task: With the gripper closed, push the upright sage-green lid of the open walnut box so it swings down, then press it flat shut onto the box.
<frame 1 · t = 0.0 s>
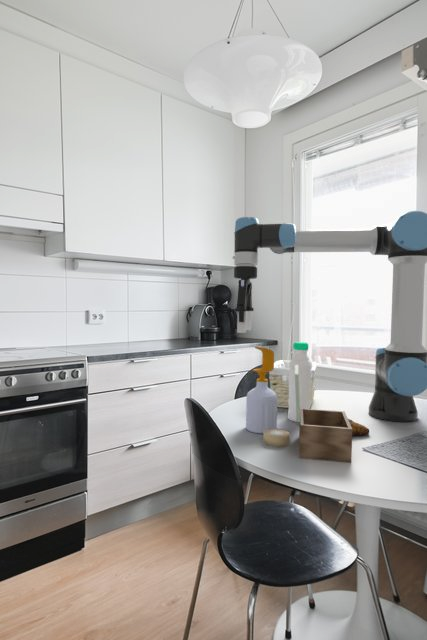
hand: (244, 331, 132), 28 cm above the table, tool pointing down, fingers open, 13 cm apart
croissant: (344, 435, 116), on the table
lid: (297, 393, 105), point 14 cm above the table, hinge at 93.6°, touching box
box: (322, 448, 104), on the table
storage basket: (293, 402, 153), on the table
soap bottle: (261, 429, 119), on the table
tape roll: (276, 442, 108), on the table
water bottle: (298, 420, 130), on the table
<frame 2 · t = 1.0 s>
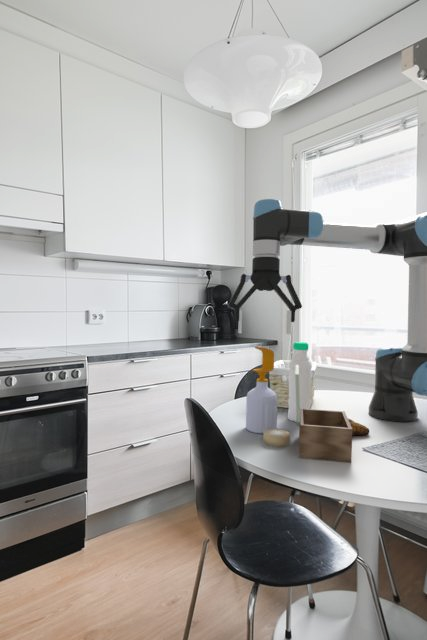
hand: (264, 333, 113), 29 cm above the table, tool pointing down, fingers open, 13 cm apart
lid: (297, 393, 105), point 14 cm above the table, hinge at 93.1°, touching box
everything else where it was.
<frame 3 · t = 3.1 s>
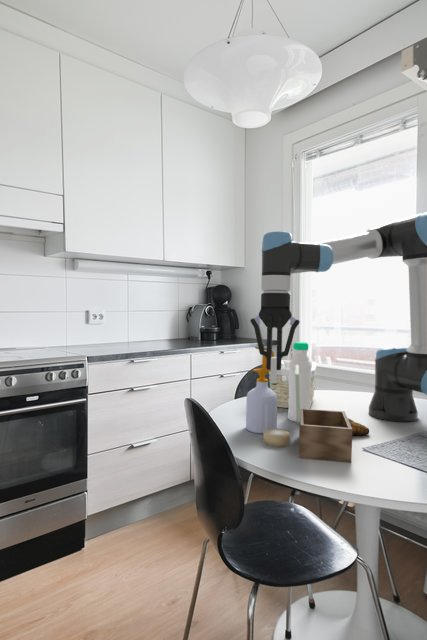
hand: (273, 382, 106), 17 cm above the table, tool pointing down, fingers closed
nothing on the table moved.
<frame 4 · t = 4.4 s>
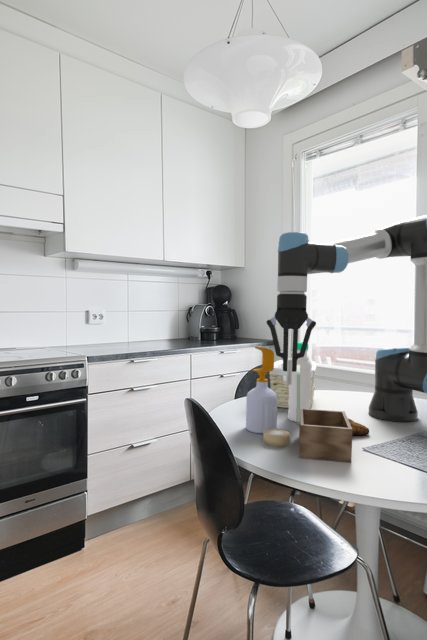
hand: (289, 383, 105), 16 cm above the table, tool pointing down, fingers closed
lid: (298, 393, 105), point 14 cm above the table, hinge at 91.4°, touching box, gripper
everything else where it was.
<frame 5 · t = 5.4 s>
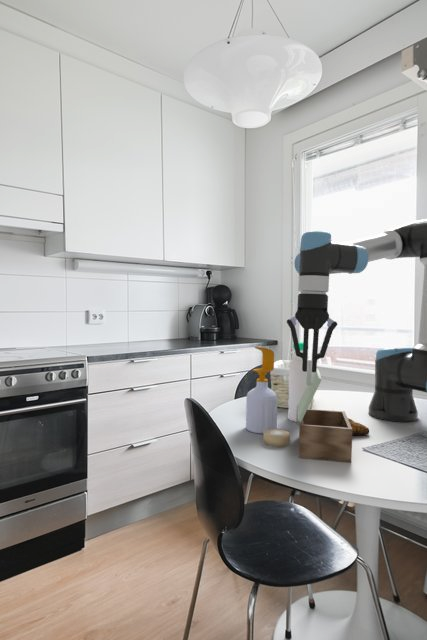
hand: (308, 384, 104), 16 cm above the table, tool pointing down, fingers closed
lid: (308, 394, 104), point 14 cm above the table, hinge at 66.6°, touching gripper
everything else where it was.
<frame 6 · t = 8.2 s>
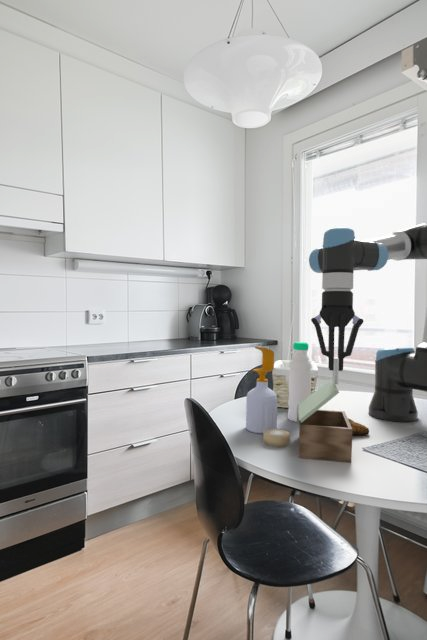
hand: (335, 383, 102), 17 cm above the table, tool pointing down, fingers closed
lid: (316, 400, 104), point 12 cm above the table, hinge at 42.5°, touching gripper
everything else where it was.
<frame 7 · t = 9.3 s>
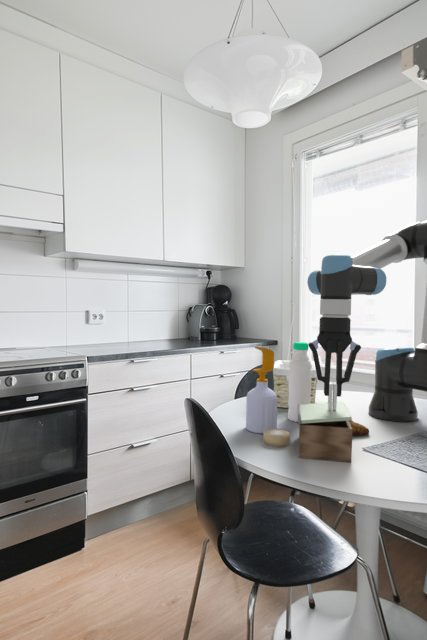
hand: (332, 408, 103), 11 cm above the table, tool pointing down, fingers closed
lid: (322, 411, 104), point 10 cm above the table, hinge at 8.4°, touching gripper
everything else where it was.
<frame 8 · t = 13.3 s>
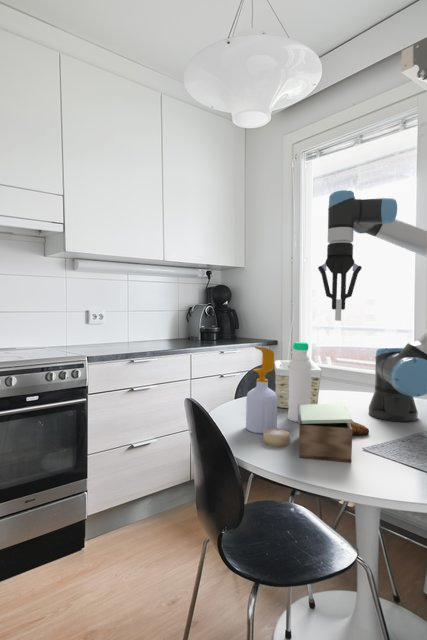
hand: (338, 320, 124), 32 cm above the table, tool pointing down, fingers closed
lid: (322, 412, 104), point 9 cm above the table, hinge at 5.6°
at the end: lid at +6° (first picture: +94°) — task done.
